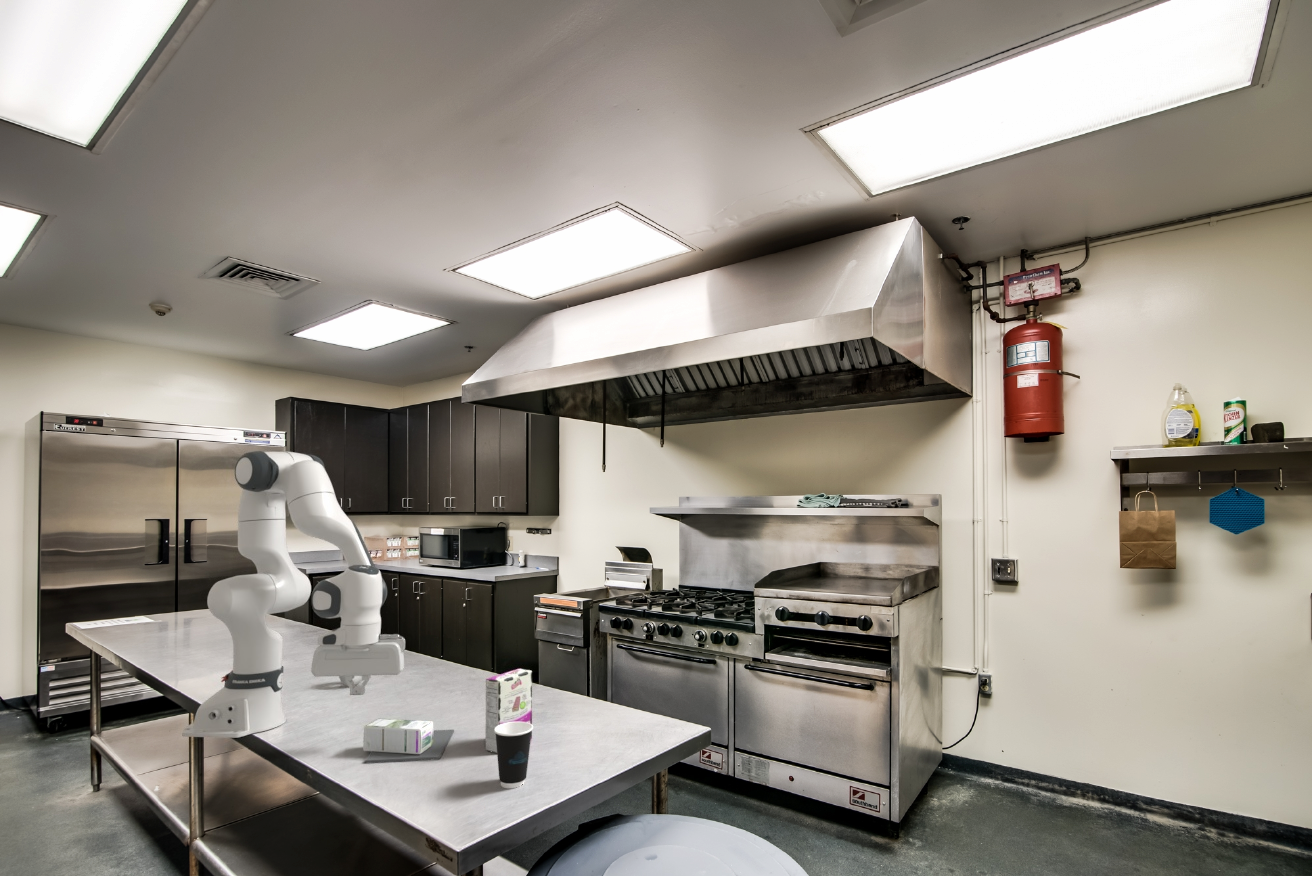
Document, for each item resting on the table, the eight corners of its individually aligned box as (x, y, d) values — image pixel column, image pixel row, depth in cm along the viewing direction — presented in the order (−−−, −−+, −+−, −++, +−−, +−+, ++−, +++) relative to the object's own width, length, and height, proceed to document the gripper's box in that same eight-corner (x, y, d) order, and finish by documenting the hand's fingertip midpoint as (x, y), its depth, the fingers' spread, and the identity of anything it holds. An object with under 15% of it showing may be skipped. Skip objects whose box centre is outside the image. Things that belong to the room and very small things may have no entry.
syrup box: (362, 751, 149) (420, 756, 146) (363, 725, 149) (421, 729, 147) (377, 742, 154) (433, 746, 152) (378, 716, 155) (434, 720, 152)
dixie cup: (518, 794, 128) (519, 736, 129) (484, 788, 131) (486, 731, 132) (539, 778, 135) (540, 723, 136) (507, 773, 138) (508, 719, 139)
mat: (364, 763, 143) (364, 760, 144) (387, 735, 161) (387, 732, 161) (439, 759, 146) (439, 756, 146) (454, 731, 163) (454, 729, 163)
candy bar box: (517, 736, 160) (518, 667, 162) (532, 739, 158) (533, 670, 159) (483, 750, 151) (484, 677, 153) (498, 755, 148) (500, 680, 150)
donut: (342, 690, 200) (344, 657, 201) (335, 689, 202) (337, 656, 203) (370, 682, 209) (371, 650, 210) (363, 681, 211) (364, 649, 212)
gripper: (408, 631, 159) (406, 689, 158) (320, 632, 157) (317, 691, 155) (402, 636, 153) (399, 697, 152) (310, 638, 150) (306, 699, 149)
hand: (357, 694), depth 153 cm, fingers closed
